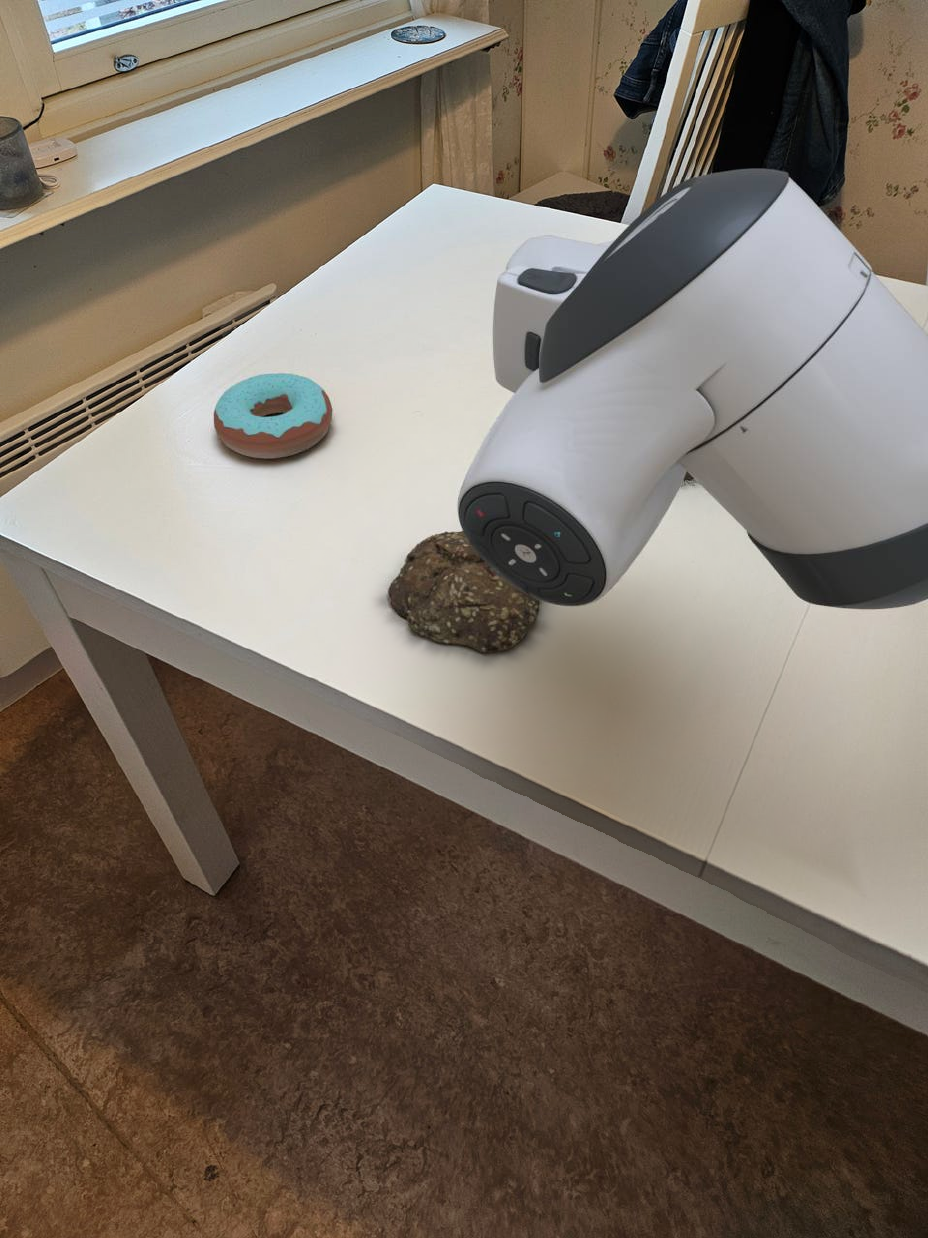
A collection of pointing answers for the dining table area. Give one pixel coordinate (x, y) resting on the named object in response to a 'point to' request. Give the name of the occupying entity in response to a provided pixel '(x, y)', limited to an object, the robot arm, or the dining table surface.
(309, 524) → the dining table surface
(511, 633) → the bread roll
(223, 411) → the donut
